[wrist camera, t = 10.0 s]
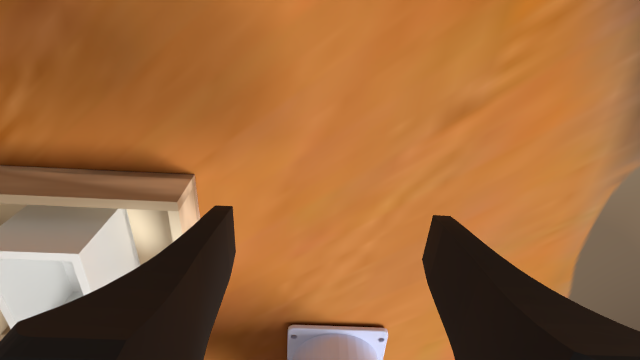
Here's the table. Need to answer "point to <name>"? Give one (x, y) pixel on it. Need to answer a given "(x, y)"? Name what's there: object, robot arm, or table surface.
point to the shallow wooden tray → (107, 201)
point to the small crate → (61, 256)
